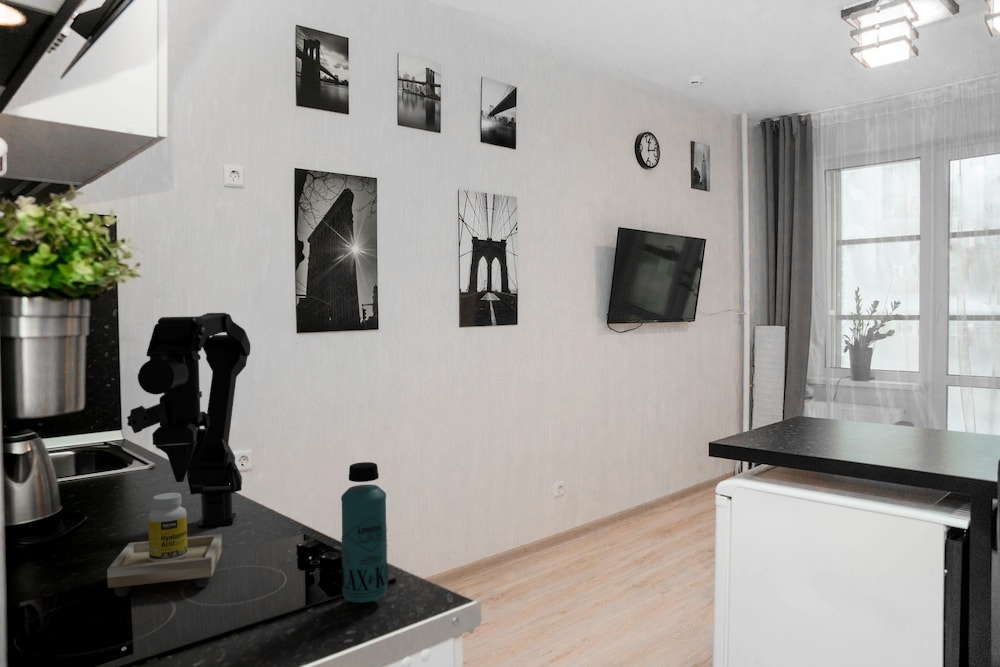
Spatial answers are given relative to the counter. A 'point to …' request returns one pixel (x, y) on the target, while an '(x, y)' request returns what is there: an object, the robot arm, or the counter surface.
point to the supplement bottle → (167, 528)
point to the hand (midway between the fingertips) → (184, 475)
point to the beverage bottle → (364, 537)
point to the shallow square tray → (165, 564)
